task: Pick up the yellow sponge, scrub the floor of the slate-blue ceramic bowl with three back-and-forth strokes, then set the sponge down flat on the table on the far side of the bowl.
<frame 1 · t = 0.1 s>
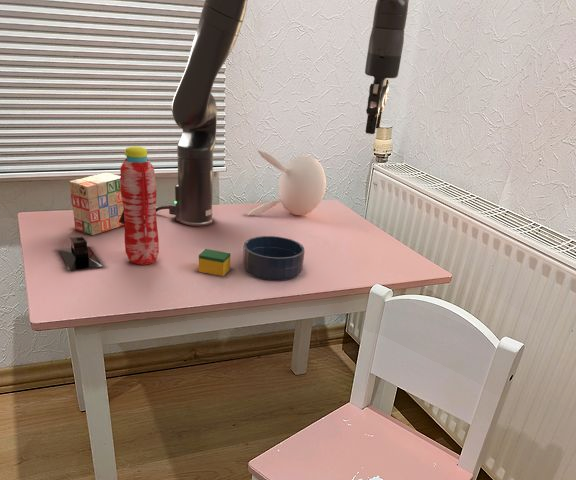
hand: (372, 130, 137), 29 cm above the table, tool pointing down, fingers open, 8 cm apart
stuffed toy: (287, 215, 172), on the table
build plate: (80, 259, 132), on the table
sponge: (214, 270, 133), on the table
bowl: (272, 268, 137), on the table
water bottle: (140, 259, 135), on the table
stack of blocks: (115, 223, 154), on the table
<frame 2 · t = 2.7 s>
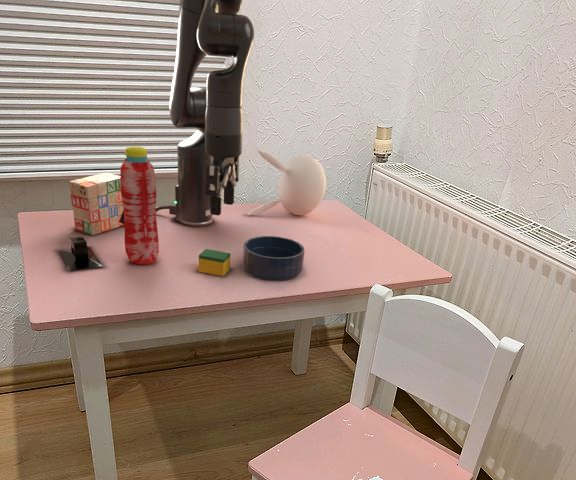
hand: (222, 209, 126), 14 cm above the table, tool pointing down, fingers open, 8 cm apart
nothing on the table moved.
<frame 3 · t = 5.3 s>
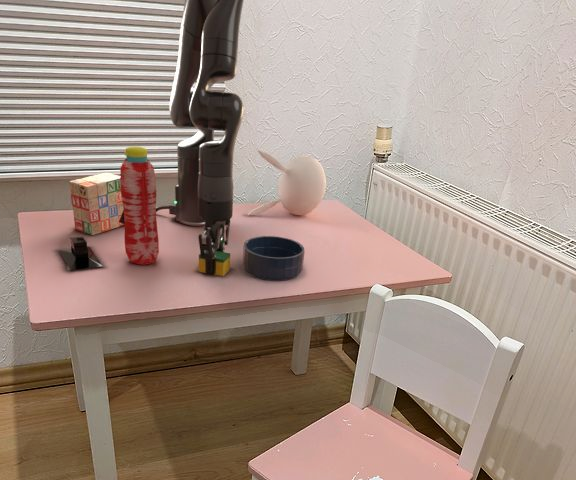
hand: (214, 269, 133), 0 cm above the table, tool pointing down, fingers closed on sponge, 4 cm apart
sponge: (214, 270, 133), on the table, touching gripper
everything else where it was.
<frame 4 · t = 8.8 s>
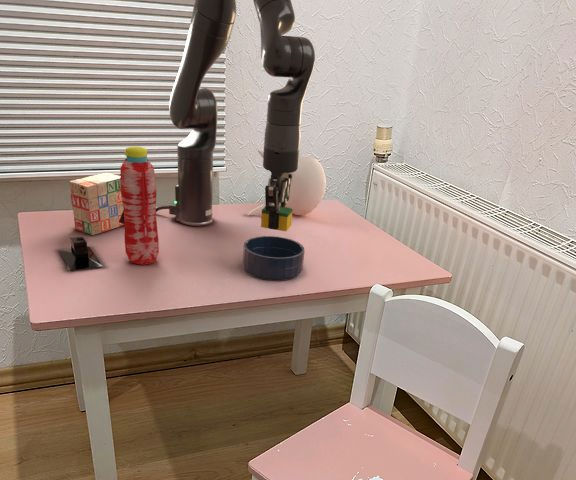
hand: (276, 225, 131), 11 cm above the table, tool pointing down, fingers closed on sponge, 4 cm apart
sponge: (276, 226, 131), point 10 cm above the table, touching gripper
everything else where it was.
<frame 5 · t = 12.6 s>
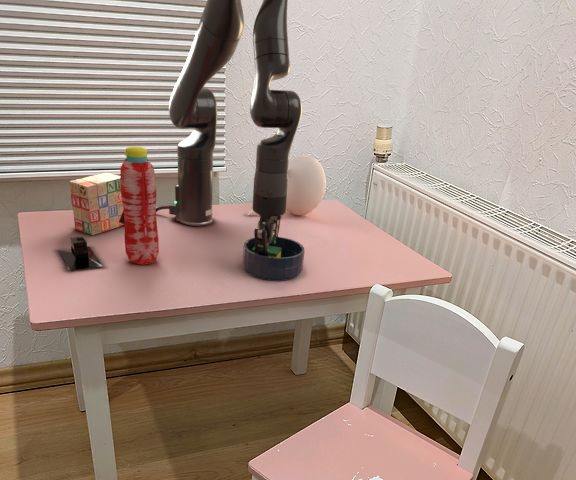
hand: (265, 263, 136), 1 cm above the table, tool pointing down, fingers closed on sponge, 4 cm apart
sponge: (265, 264, 137), point 1 cm above the table, touching gripper
everything else where it was.
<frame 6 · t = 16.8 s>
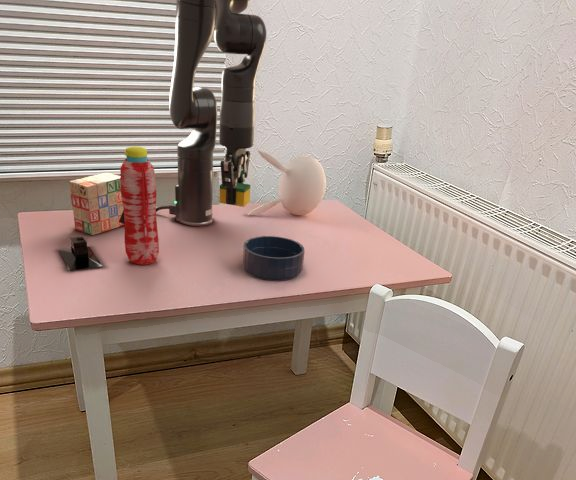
hand: (234, 201, 134), 13 cm above the table, tool pointing down, fingers closed on sponge, 4 cm apart
sponge: (234, 202, 135), point 13 cm above the table, touching gripper
everything else where it was.
when the fingers open (0 cm above the table, at t = 20.2 s): sponge stays where it is, on the table.
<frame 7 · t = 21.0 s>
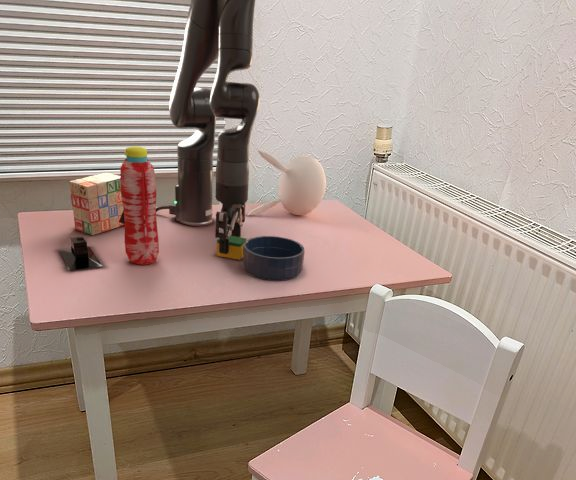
hand: (230, 247, 141), 2 cm above the table, tool pointing down, fingers open, 8 cm apart
sponge: (231, 254, 142), on the table
everything else where it was.
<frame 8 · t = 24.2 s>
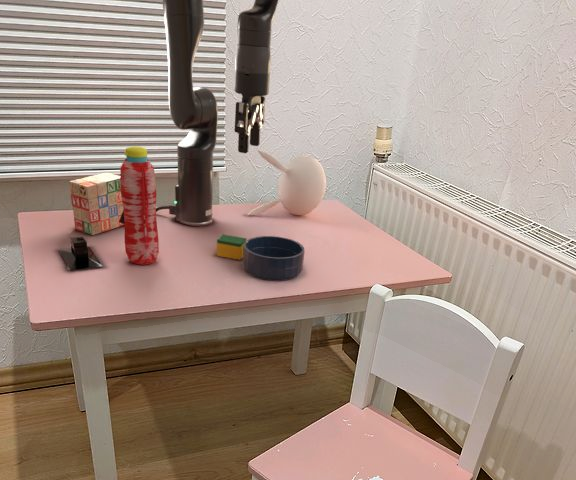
hand: (248, 148, 132), 24 cm above the table, tool pointing down, fingers open, 8 cm apart
nothing on the table moved.
at the end: sponge 0.2 cm from the target spot, on the table; sponge tilted 0°; the gripper is holding nothing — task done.
